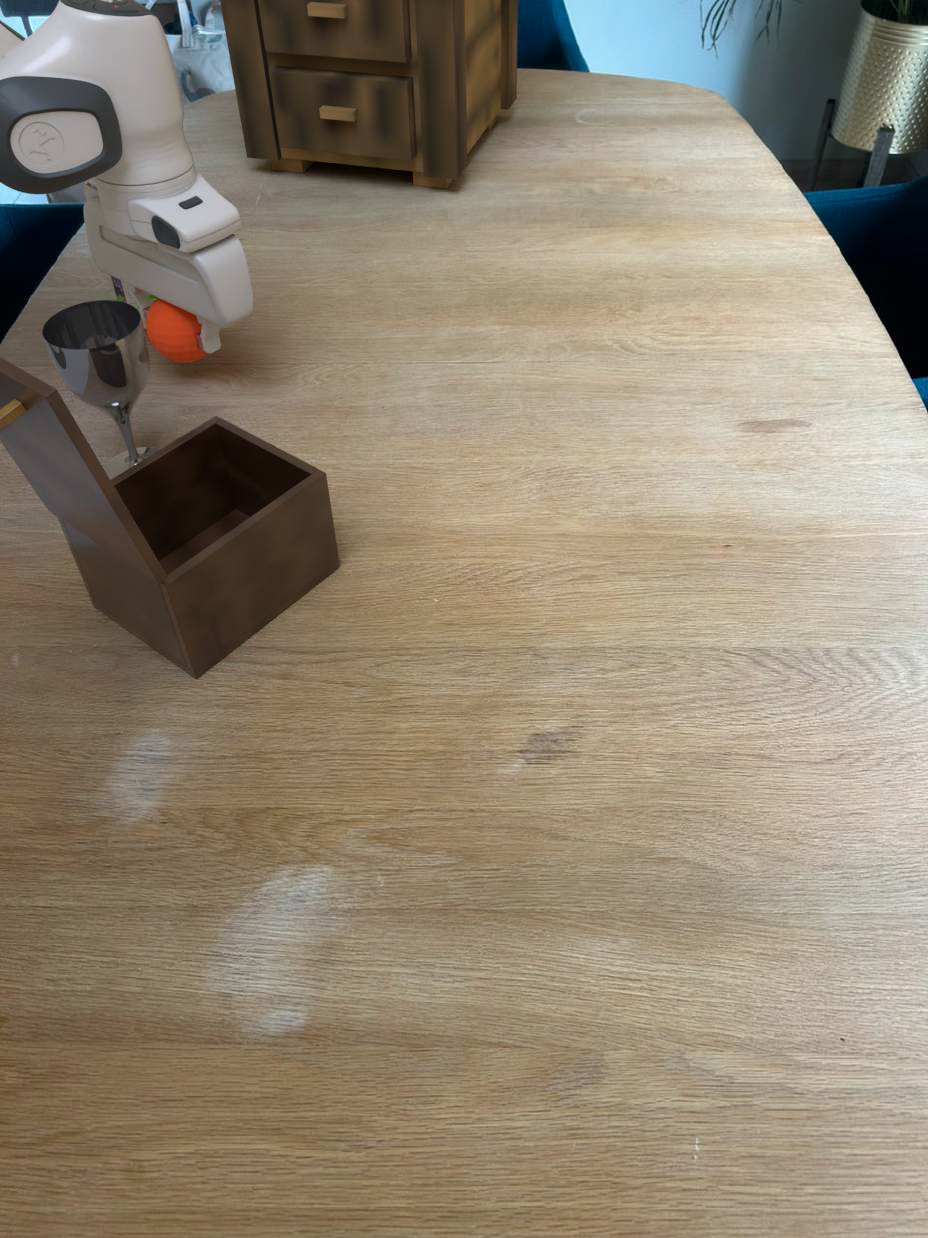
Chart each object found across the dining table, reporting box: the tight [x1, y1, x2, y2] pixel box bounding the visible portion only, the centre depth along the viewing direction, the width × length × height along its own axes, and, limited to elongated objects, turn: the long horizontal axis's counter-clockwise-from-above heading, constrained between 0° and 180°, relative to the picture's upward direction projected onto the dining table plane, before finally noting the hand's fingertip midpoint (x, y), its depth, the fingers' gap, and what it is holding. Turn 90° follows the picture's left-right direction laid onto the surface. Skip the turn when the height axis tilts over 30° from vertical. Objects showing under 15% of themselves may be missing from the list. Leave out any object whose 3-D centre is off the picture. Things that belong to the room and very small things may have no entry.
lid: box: [0, 356, 167, 584], centre depth 63 cm, size 17×13×5 cm
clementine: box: [138, 295, 208, 363], centre depth 100 cm, size 8×7×7 cm
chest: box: [56, 415, 341, 680], centre depth 78 cm, size 16×13×10 cm
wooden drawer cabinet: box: [219, 0, 519, 189], centre depth 134 cm, size 35×35×33 cm
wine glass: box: [41, 299, 161, 480], centre depth 87 cm, size 8×8×15 cm
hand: (182, 335), depth 101 cm, fingers closed on clementine, 7 cm apart
